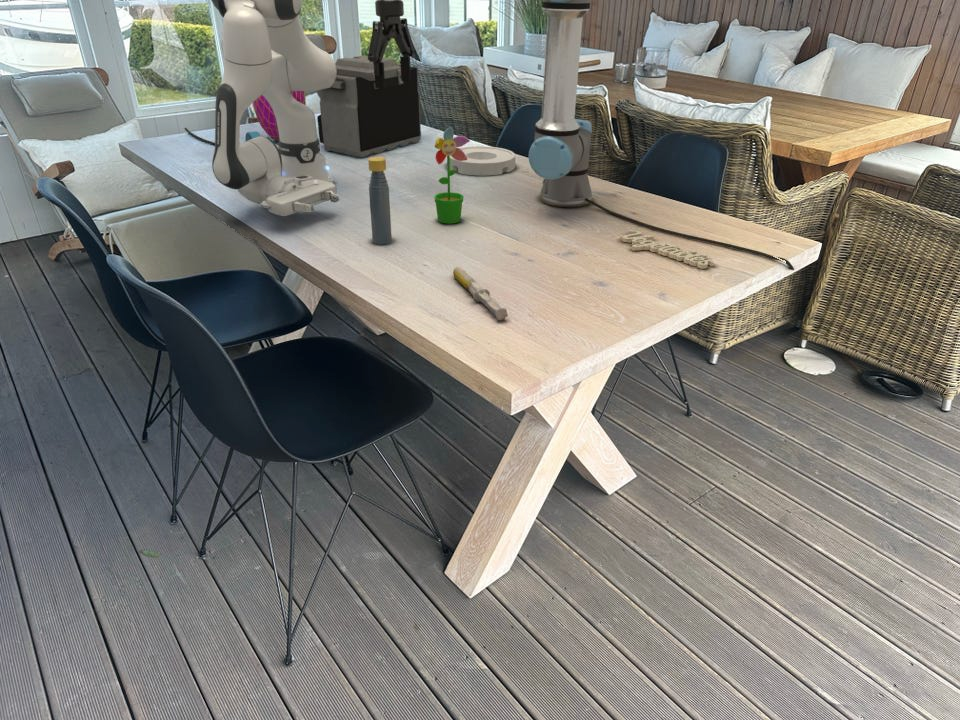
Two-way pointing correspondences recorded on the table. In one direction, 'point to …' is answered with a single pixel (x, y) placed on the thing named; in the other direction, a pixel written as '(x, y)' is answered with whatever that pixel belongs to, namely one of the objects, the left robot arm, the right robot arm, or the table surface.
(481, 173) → the ashtray
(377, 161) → the cap
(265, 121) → the decorative egg
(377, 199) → the bottle
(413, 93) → the cooler box
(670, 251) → the decorative sign
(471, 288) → the syringe
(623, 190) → the table surface
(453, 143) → the potted flower
